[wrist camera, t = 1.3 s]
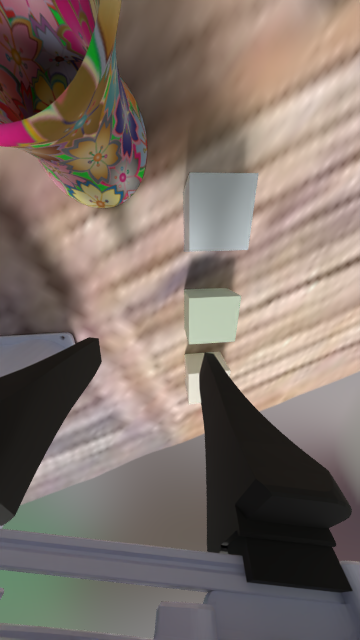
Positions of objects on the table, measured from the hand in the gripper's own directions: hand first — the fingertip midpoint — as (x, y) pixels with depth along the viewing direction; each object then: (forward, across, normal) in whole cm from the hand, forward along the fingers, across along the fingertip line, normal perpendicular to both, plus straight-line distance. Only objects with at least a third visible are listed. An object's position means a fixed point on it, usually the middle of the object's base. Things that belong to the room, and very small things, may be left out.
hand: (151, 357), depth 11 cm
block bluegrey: (+10, -3, -9) cm, 14 cm away
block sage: (+10, -4, 0) cm, 11 cm away
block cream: (+9, -6, +9) cm, 14 cm away
